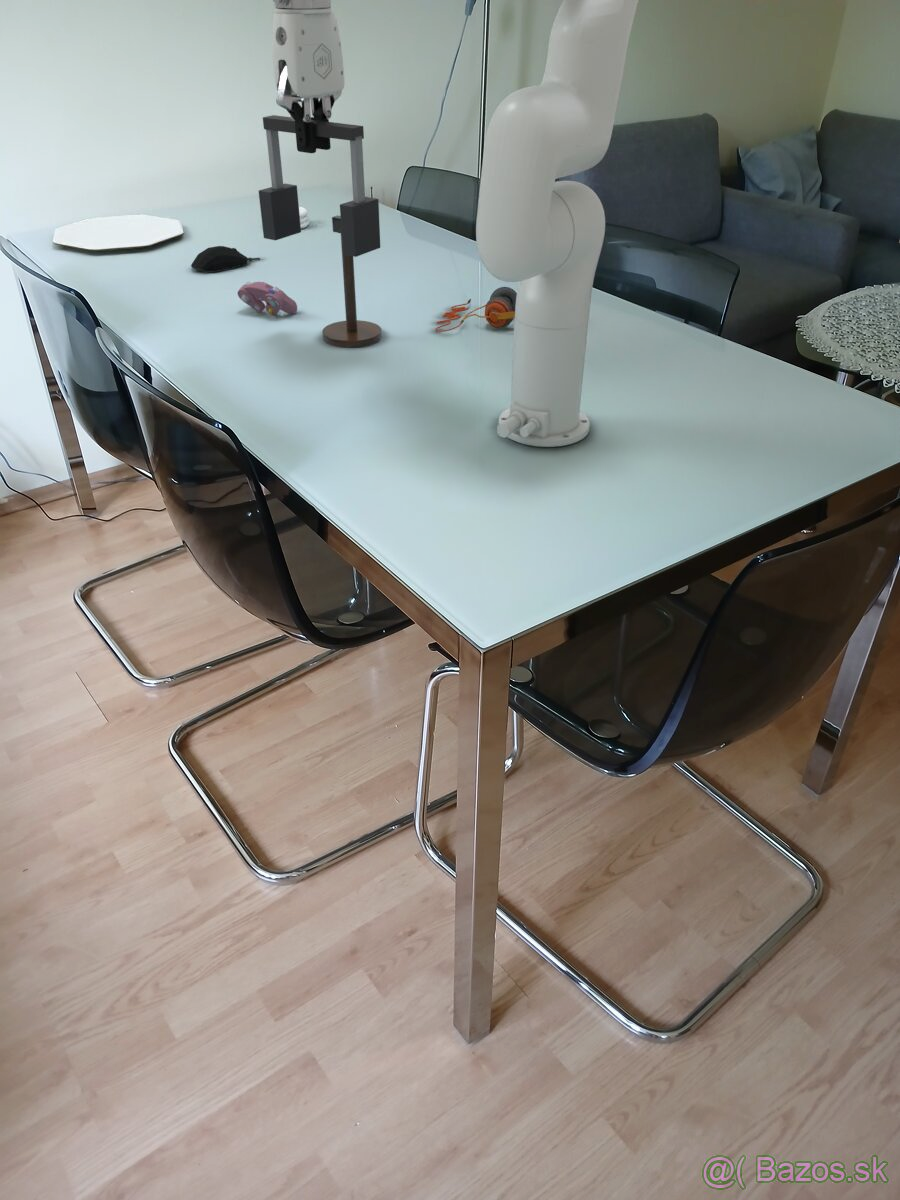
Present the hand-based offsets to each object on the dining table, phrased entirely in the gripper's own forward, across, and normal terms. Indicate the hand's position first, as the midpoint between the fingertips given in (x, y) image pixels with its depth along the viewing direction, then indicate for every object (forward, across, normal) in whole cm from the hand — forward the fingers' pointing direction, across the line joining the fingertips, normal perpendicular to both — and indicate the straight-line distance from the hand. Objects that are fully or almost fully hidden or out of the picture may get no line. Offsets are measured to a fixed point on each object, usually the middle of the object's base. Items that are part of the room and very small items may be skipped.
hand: (313, 149), depth 133 cm
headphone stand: (+30, +6, 0) cm, 31 cm away
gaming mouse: (+30, +24, +48) cm, 61 cm away
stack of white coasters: (+30, +55, +59) cm, 86 cm away
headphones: (+30, +26, -16) cm, 43 cm away
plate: (+30, +25, +82) cm, 91 cm away
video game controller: (+30, +7, +20) cm, 37 cm away
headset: (+13, 0, 0) cm, 13 cm away
